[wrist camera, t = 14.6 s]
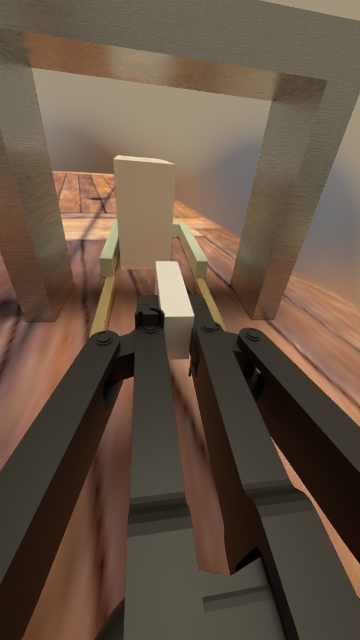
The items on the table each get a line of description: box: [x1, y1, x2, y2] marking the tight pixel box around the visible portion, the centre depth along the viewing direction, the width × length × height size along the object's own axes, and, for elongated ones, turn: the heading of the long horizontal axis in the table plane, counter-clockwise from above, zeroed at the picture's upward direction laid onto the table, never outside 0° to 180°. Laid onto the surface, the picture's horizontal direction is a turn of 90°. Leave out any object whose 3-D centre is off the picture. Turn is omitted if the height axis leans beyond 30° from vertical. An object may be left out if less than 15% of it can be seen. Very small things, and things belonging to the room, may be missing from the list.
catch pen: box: [100, 219, 208, 278], centre depth 40 cm, size 20×14×2 cm
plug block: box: [113, 155, 176, 269], centre depth 36 cm, size 15×7×13 cm, turn 10°
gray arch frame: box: [0, 0, 360, 338], centre depth 19 cm, size 14×25×21 cm, turn 97°
